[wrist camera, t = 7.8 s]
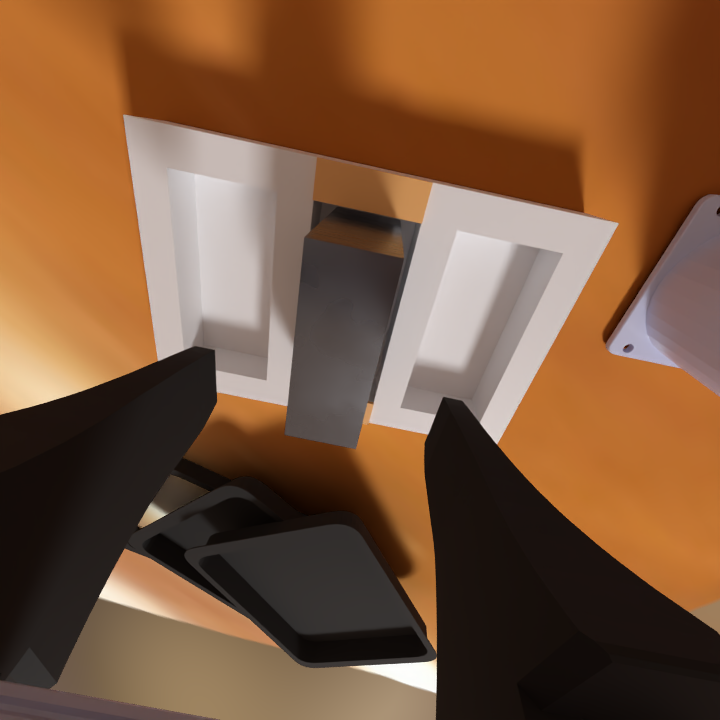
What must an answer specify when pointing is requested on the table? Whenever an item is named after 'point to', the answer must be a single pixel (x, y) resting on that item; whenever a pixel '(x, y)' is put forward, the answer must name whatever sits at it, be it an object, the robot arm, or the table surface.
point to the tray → (289, 572)
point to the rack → (415, 286)
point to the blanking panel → (341, 323)
